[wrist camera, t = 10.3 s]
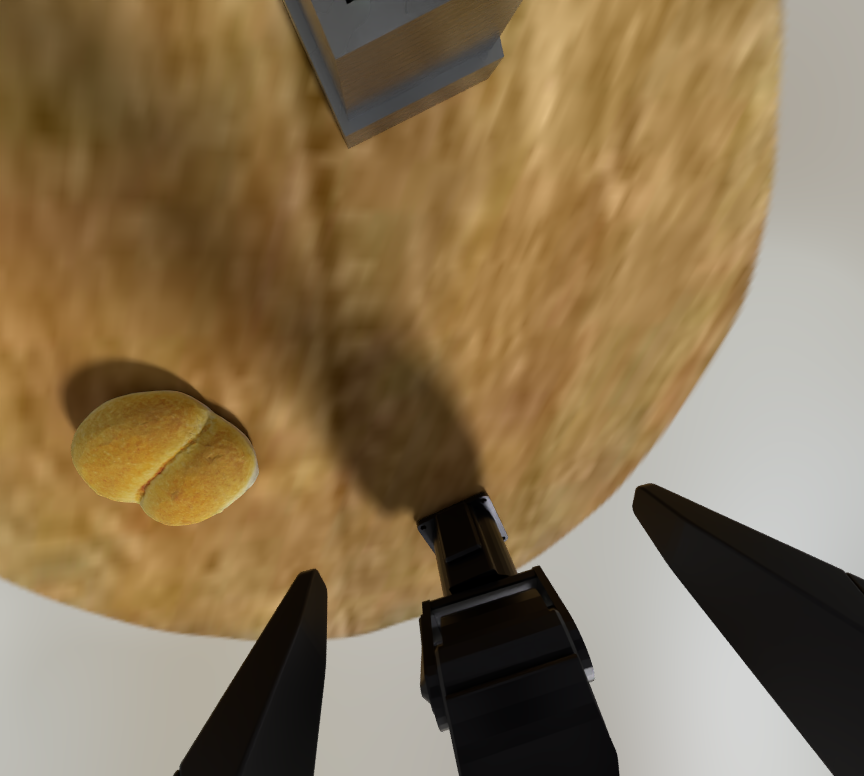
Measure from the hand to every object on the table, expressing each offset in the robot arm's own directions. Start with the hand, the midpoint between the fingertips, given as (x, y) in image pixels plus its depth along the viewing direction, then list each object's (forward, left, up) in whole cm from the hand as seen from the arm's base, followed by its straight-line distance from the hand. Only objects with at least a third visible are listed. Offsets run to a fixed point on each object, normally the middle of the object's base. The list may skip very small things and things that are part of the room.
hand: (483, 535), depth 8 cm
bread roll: (+1, +16, -14) cm, 21 cm away
